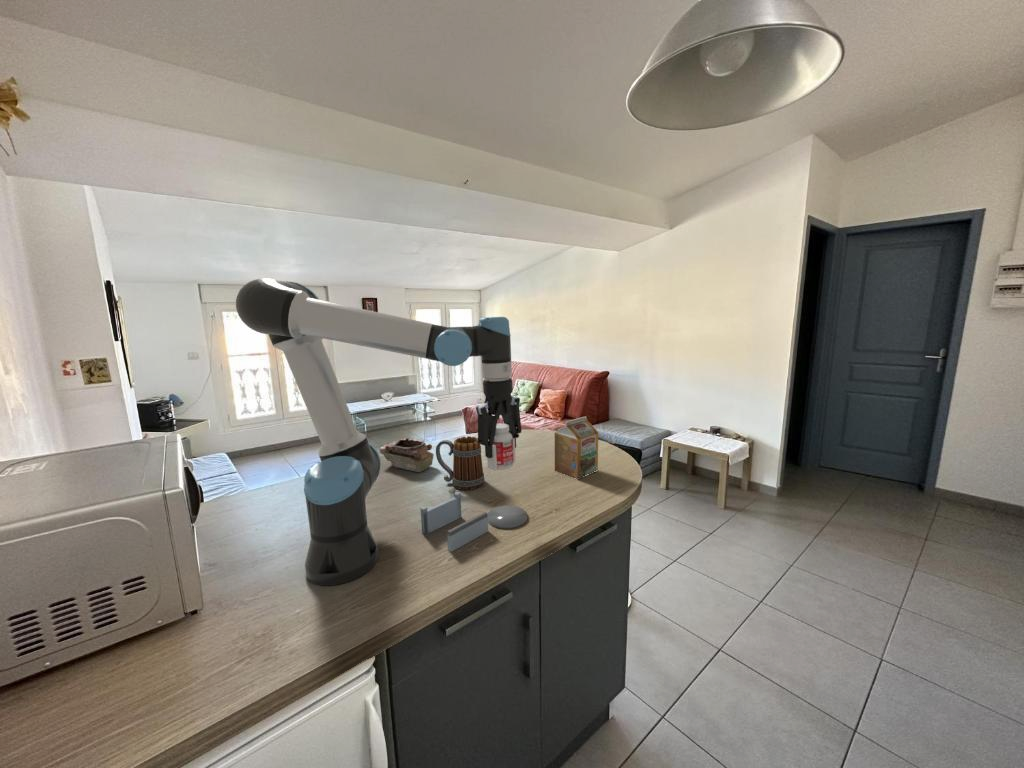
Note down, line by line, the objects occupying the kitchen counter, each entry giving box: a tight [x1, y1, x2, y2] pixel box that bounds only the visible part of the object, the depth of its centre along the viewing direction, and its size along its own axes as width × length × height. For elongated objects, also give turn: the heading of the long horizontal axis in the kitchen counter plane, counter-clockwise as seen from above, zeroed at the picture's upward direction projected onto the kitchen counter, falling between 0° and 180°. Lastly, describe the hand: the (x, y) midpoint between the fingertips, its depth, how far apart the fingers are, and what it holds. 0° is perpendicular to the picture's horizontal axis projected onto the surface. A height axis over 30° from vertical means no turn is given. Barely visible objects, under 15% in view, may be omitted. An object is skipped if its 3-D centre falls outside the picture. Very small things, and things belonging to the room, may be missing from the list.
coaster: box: [487, 504, 528, 530], centre depth 107 cm, size 11×11×1 cm
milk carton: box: [554, 416, 599, 480], centre depth 136 cm, size 11×11×19 cm
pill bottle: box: [493, 422, 515, 471], centre depth 103 cm, size 6×6×11 cm
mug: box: [435, 435, 485, 491], centre depth 129 cm, size 16×11×15 cm
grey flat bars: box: [420, 491, 489, 553], centre depth 100 cm, size 12×12×7 cm
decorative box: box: [379, 437, 435, 473], centre depth 144 cm, size 13×20×10 cm, turn 56°
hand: (502, 464), depth 104 cm, fingers closed on pill bottle, 6 cm apart
